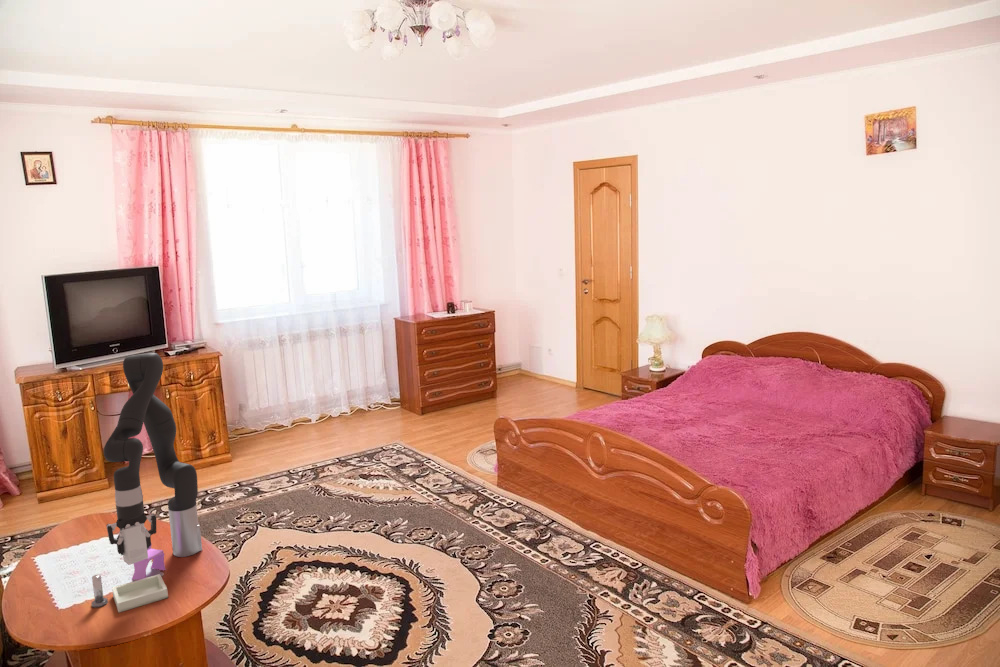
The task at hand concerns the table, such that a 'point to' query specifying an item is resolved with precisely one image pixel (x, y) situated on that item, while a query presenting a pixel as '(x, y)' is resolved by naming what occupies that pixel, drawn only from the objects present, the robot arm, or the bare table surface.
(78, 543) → the table surface
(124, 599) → the tray
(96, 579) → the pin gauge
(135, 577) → the toy chair
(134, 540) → the skincare box
